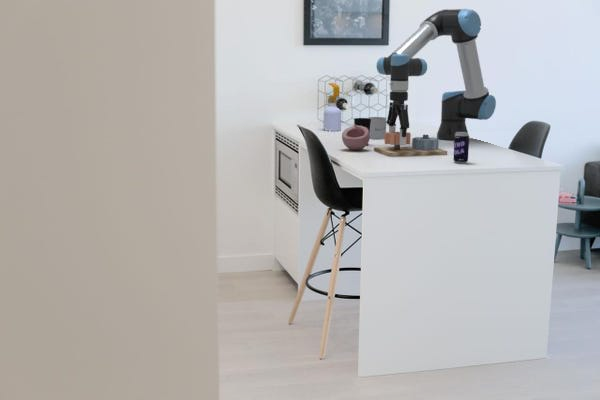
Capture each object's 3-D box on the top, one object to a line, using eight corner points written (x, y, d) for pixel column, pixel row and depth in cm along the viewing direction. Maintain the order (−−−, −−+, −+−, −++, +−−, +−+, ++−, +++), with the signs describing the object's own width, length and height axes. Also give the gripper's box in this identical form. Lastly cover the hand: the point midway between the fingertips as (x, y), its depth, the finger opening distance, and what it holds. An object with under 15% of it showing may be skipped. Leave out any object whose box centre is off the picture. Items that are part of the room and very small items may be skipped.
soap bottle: (332, 129, 451) (332, 82, 447) (344, 130, 445) (345, 83, 440) (319, 130, 445) (320, 83, 441) (332, 131, 439) (332, 83, 434)
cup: (369, 146, 382) (369, 119, 380) (352, 145, 384) (352, 119, 382) (371, 144, 390) (371, 118, 388) (354, 143, 391) (355, 117, 389)
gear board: (428, 149, 375) (429, 132, 373) (447, 154, 358) (447, 137, 356) (373, 150, 367) (374, 133, 366) (389, 156, 351) (390, 138, 349)
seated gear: (424, 146, 372) (424, 136, 371) (443, 149, 364) (444, 138, 363) (406, 148, 365) (407, 138, 364) (425, 151, 357) (426, 140, 356)
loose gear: (404, 141, 367) (404, 131, 366) (414, 144, 356) (415, 134, 356) (380, 142, 364) (380, 131, 363) (390, 145, 353) (390, 134, 353)
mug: (369, 139, 408) (370, 118, 406) (366, 137, 416) (367, 117, 414) (394, 139, 409) (395, 118, 407) (391, 137, 417) (391, 117, 416)
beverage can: (451, 161, 338) (453, 131, 336) (465, 161, 339) (467, 131, 337) (455, 163, 333) (456, 133, 330) (469, 163, 333) (471, 133, 331)
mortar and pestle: (337, 151, 366) (338, 124, 364) (346, 147, 377) (347, 122, 375) (364, 152, 362) (365, 125, 359) (372, 149, 373) (373, 123, 370)
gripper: (380, 89, 366) (378, 139, 370) (401, 92, 344) (400, 146, 348) (396, 89, 368) (394, 139, 372) (418, 92, 346) (416, 146, 350)
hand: (397, 143), depth 360 cm, fingers closed on loose gear, 11 cm apart
